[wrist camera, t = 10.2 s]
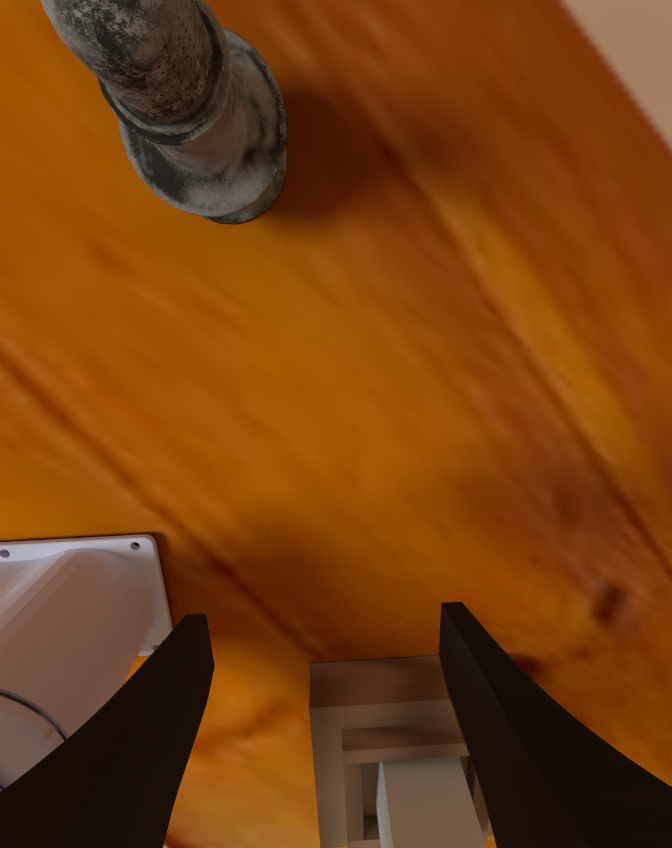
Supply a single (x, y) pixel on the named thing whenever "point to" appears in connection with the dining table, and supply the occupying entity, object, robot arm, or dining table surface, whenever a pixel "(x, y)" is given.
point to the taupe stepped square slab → (378, 738)
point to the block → (426, 805)
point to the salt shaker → (184, 101)
